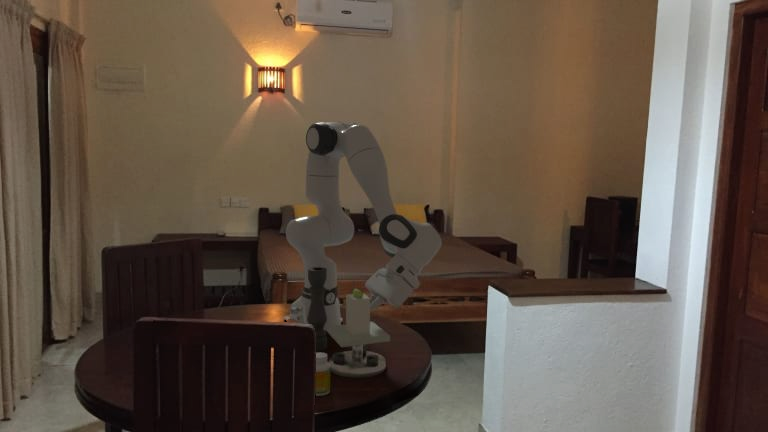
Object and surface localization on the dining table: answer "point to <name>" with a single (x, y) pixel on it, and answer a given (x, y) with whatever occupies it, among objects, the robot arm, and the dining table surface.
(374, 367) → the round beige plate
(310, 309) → the candle holder
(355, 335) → the white stepped fixture
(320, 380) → the supplement bottle
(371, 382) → the dining table surface
